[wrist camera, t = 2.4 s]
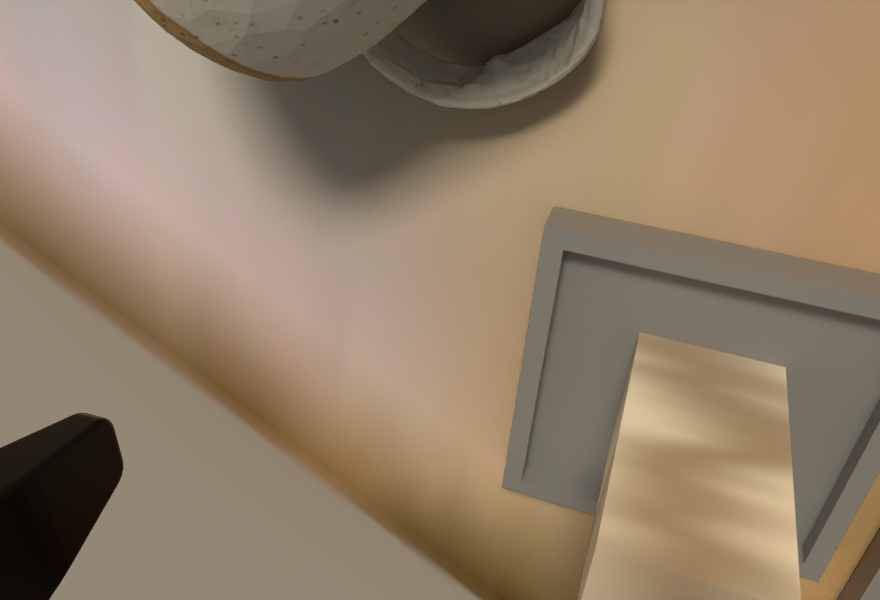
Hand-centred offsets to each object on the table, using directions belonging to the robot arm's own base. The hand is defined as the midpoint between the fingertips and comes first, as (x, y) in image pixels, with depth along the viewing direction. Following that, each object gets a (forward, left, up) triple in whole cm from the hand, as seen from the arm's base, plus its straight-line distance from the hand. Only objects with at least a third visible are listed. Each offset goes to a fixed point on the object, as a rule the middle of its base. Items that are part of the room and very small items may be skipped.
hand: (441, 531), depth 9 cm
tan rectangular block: (-4, +7, -13) cm, 16 cm away
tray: (-4, +7, -14) cm, 16 cm away
